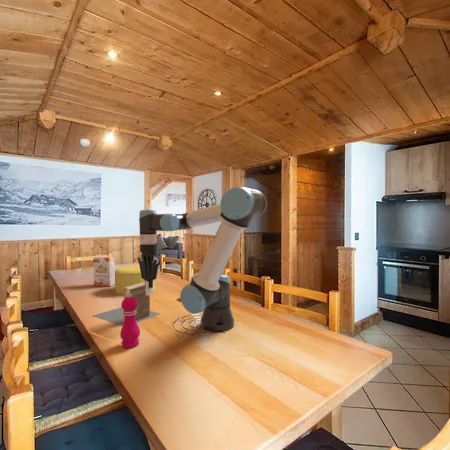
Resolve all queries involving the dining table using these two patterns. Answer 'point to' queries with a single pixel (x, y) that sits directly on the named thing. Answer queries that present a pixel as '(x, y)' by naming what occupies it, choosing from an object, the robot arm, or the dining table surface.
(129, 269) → the cheese
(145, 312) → the brown wooden block
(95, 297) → the dining table surface
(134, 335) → the pepper mill
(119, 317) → the mat
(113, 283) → the cracker box
